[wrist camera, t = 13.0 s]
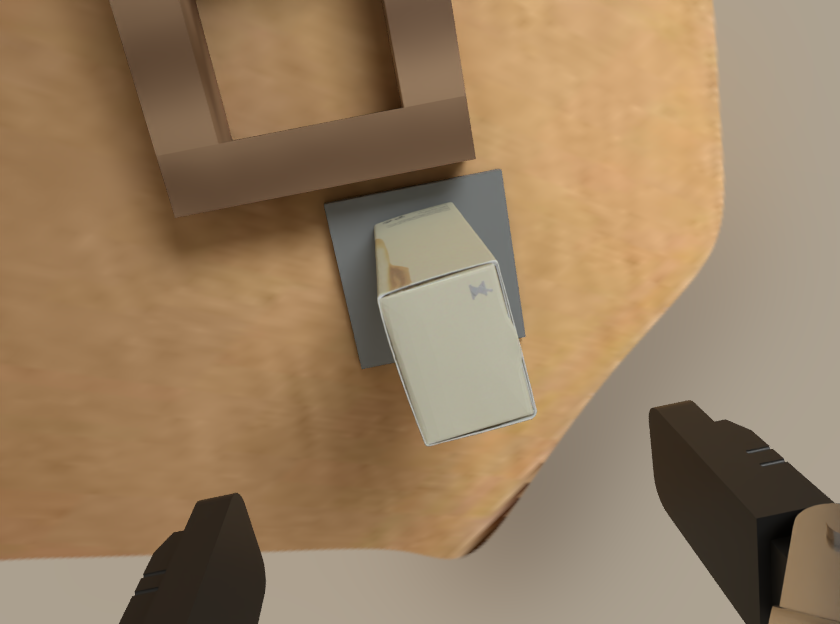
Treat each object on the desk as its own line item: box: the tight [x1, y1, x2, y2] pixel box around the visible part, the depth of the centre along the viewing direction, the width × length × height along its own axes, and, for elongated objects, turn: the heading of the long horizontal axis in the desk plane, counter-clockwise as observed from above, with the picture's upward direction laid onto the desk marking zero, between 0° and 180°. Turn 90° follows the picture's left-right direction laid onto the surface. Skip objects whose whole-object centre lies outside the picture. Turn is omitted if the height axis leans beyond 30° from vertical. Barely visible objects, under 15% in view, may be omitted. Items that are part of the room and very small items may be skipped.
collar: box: [109, 0, 476, 218], centre depth 29 cm, size 14×14×3 cm
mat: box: [324, 169, 525, 369], centre depth 34 cm, size 9×9×1 cm
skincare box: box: [374, 202, 537, 446], centre depth 28 cm, size 6×4×12 cm
